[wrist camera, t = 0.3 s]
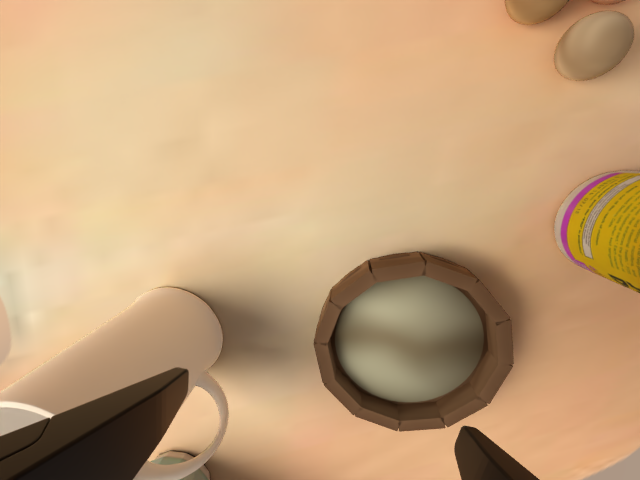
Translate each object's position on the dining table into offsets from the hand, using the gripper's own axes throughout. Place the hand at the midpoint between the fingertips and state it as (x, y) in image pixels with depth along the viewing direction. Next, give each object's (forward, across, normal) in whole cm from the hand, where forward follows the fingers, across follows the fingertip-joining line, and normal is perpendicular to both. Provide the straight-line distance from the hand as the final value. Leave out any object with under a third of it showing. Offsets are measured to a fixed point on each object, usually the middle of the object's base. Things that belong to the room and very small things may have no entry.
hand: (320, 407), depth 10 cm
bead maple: (+12, +12, +16) cm, 23 cm away
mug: (+14, -11, -10) cm, 20 cm away
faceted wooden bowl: (+13, +6, -5) cm, 16 cm away
